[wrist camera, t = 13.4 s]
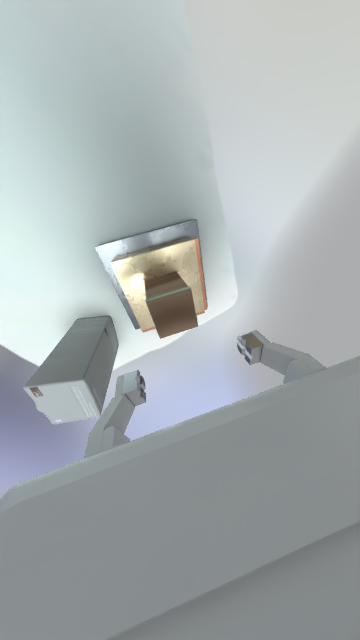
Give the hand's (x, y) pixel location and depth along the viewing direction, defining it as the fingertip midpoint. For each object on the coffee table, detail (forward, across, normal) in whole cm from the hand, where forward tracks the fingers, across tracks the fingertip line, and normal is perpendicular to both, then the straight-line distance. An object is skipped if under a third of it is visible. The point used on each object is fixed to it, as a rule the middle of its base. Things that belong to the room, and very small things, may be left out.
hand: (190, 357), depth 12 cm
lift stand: (+21, 0, +1) cm, 21 cm away
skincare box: (+21, +16, +8) cm, 27 cm away
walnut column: (+15, 0, 0) cm, 15 cm away
